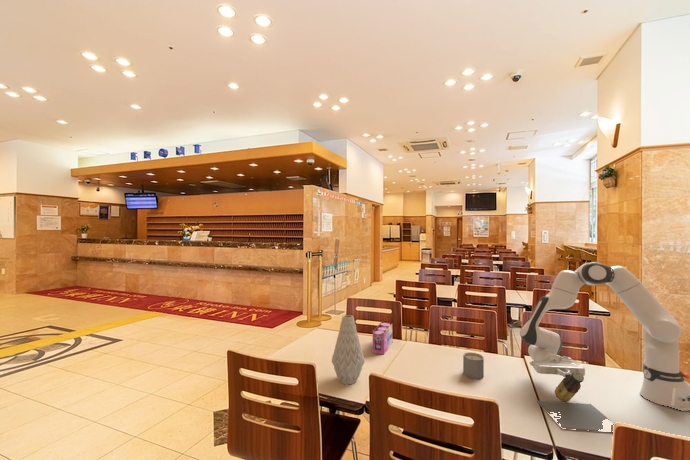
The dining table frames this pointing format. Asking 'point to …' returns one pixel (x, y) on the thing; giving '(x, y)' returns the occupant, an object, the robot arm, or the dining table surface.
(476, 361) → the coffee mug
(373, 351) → the pink multipack
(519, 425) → the dining table surface
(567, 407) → the placemat
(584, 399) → the dining table surface
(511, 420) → the dining table surface
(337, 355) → the vase
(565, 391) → the sauce bottle
